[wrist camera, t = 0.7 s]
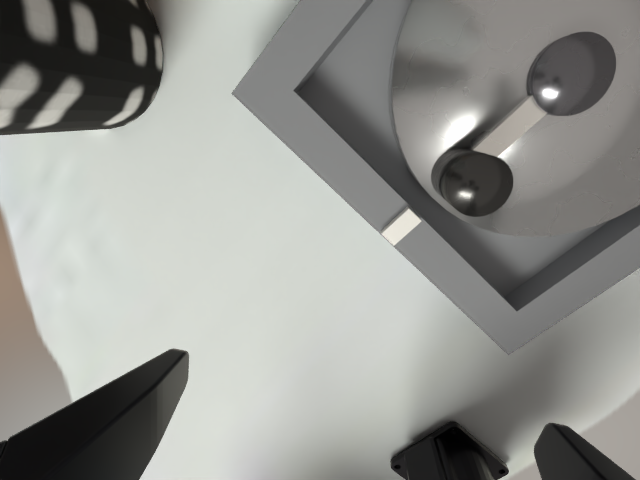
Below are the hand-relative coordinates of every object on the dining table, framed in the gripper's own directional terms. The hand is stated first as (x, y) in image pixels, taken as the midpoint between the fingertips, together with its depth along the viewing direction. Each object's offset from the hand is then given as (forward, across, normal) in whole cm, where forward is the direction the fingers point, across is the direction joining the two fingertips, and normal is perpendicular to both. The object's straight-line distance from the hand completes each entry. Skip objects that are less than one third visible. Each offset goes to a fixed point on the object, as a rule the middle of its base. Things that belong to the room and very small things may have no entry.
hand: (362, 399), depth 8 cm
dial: (+11, -7, -9) cm, 16 cm away
